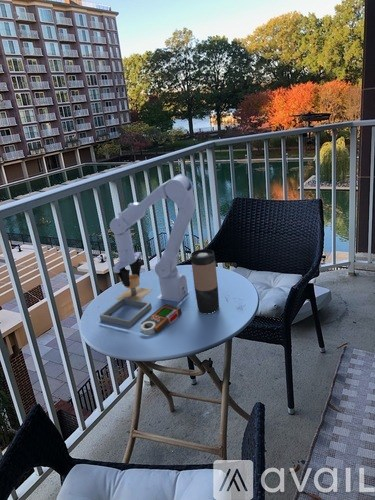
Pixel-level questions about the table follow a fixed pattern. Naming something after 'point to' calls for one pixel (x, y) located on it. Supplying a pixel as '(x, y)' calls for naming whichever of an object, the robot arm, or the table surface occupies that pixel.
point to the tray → (129, 323)
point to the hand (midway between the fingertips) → (132, 282)
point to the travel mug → (205, 280)
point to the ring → (133, 281)
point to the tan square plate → (134, 293)
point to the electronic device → (160, 319)
